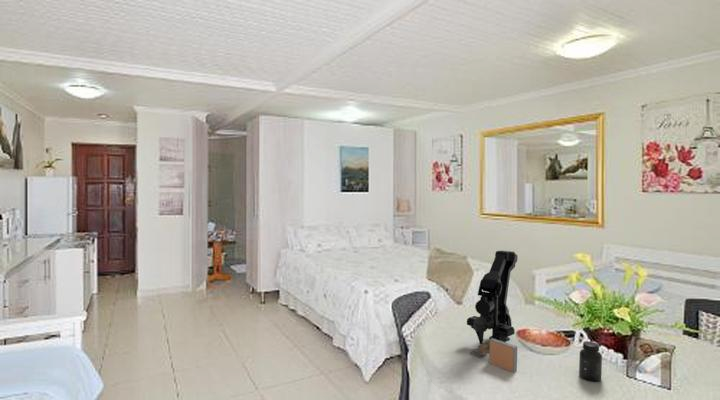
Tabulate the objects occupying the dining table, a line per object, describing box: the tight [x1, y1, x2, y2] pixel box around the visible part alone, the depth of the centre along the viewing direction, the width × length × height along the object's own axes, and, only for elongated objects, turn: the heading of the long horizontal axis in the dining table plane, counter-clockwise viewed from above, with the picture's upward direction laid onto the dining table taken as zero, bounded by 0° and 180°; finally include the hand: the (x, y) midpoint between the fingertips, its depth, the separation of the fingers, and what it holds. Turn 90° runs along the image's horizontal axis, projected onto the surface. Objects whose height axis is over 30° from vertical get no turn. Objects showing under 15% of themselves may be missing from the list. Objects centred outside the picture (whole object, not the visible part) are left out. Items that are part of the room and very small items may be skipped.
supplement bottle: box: [578, 340, 603, 383], centre depth 145 cm, size 7×7×12 cm
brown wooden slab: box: [469, 340, 490, 359], centre depth 166 cm, size 13×5×3 cm, turn 130°
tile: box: [488, 338, 518, 373], centre depth 153 cm, size 2×10×9 cm, turn 40°
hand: (489, 346), depth 169 cm, fingers open, 7 cm apart
